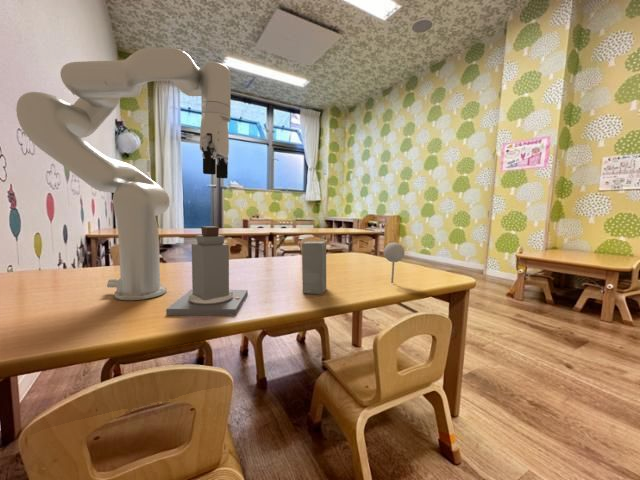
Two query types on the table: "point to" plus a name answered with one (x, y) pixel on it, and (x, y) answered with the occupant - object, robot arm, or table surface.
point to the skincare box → (314, 267)
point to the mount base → (208, 304)
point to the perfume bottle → (210, 264)
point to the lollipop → (393, 254)
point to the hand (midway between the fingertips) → (216, 176)
